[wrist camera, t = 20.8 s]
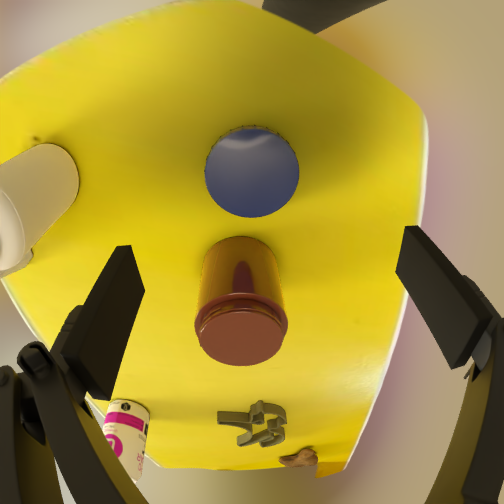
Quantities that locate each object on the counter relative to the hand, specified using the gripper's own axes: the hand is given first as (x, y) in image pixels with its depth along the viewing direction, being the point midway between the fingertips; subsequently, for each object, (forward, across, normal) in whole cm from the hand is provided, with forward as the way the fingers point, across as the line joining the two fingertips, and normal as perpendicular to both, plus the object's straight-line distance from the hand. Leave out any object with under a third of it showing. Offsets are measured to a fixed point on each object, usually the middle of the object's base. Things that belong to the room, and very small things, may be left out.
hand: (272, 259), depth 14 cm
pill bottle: (+16, -22, +2) cm, 27 cm away
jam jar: (+16, -2, -11) cm, 19 cm away
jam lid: (+14, 0, 0) cm, 14 cm away
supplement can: (+15, -26, -42) cm, 52 cm away
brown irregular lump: (+15, +6, -70) cm, 72 cm away
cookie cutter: (+15, -2, -48) cm, 51 cm away
